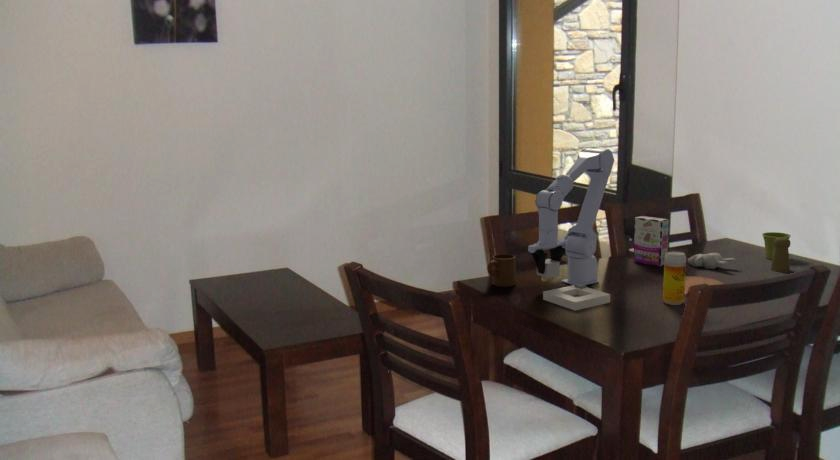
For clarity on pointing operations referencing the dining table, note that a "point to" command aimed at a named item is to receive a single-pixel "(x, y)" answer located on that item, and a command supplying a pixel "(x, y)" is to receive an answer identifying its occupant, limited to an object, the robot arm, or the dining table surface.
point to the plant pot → (772, 242)
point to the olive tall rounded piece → (781, 255)
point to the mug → (503, 270)
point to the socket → (576, 297)
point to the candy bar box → (650, 240)
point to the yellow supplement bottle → (674, 278)
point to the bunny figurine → (709, 260)
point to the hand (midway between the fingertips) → (548, 271)
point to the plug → (550, 270)
